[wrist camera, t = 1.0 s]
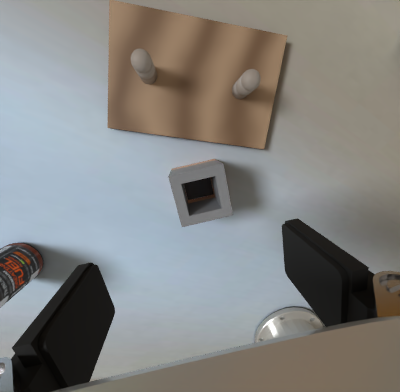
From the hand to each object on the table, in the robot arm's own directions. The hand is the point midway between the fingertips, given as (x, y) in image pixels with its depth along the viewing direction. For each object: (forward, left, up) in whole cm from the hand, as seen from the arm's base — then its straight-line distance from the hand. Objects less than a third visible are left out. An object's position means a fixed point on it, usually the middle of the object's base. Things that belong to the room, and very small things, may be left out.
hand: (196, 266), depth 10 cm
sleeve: (-1, 0, -19) cm, 19 cm away
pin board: (+1, -13, -19) cm, 23 cm away
